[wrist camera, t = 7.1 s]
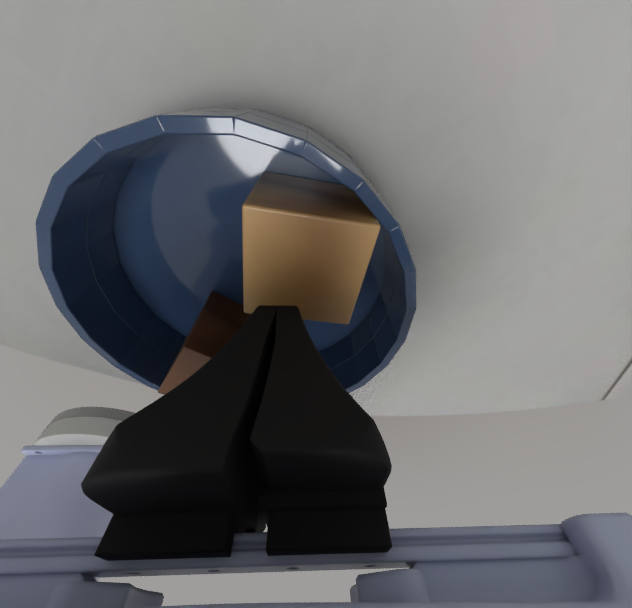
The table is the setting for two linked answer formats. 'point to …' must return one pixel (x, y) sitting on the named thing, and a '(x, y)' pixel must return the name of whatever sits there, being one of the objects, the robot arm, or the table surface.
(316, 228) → the beech block
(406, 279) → the bowl
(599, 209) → the table surface
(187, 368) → the walnut block
